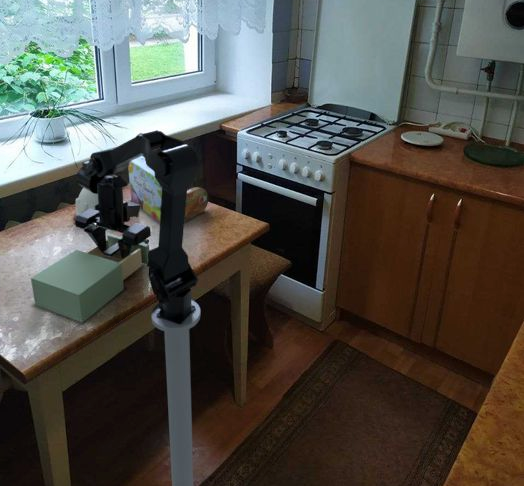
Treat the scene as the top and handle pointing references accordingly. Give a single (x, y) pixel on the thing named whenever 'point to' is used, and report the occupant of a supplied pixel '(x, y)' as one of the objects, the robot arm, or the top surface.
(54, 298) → the cabinet
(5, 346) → the top surface
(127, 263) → the drawer
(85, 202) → the kitchen timer
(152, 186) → the snack box
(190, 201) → the tin
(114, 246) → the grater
